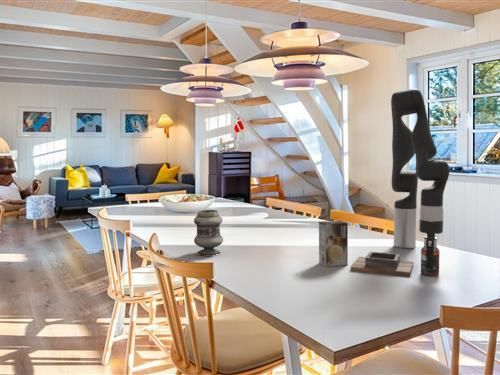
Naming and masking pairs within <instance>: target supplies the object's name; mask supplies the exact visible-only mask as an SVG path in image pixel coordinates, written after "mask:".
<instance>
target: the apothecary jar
mask: <svg viewBox="0 0 500 375" xmlns="http://www.w3.org/2000/svg"><path fill="white" fill-rule="evenodd" d="M193 222H194V224H195V225H196V235H195V237H194V240H193V241H194V244H195V245H196V246H198V247H199V248H202V249H200V250H198V251H197V252H196V254H197V253H198V254H202V255H201V256H203V255H216V254H219V253H220V254H221V251H220V250H218V249H216V247H219V246H221V245H222V244H223V242H224V238H223V236H222V235H221V231H220V230H221V229H220V228H221V226H220V225H221V224H222V223H223V218H222V217H221V215H219V211H218V209H202V210H198V211H197V214H196V216H195V217H194V219H193ZM198 254H197V255H198ZM220 254H219V255H220ZM216 256H217V255H216Z"/></svg>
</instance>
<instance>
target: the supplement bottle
mask: <svg viewBox="0 0 500 375" xmlns="http://www.w3.org/2000/svg"><path fill="white" fill-rule="evenodd" d="M423 245H424V246H423V247H421V249H420V274H422V275H423V276H429V277H436V276H439V274H440V249H439V248H438V247H437V244H436V251H435V252H434V259H433V269H432V270H431V269H426V256H425V255H426V251H425V243H424V242H423ZM428 254H432V252H431V251H428Z"/></svg>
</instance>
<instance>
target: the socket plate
mask: <svg viewBox="0 0 500 375" xmlns="http://www.w3.org/2000/svg"><path fill="white" fill-rule="evenodd" d="M413 268H414V261H410V260H401V254H400V253H391V252H390V253H389V252H380V251H379V252H378V251H377V252H376V251H369V252H368V254H367V255H366V256H365V257H363V256H359V257H358V258H357V259H356V260H355V261H354V262H353V263H352V265H351V266H350V271H351V272H360V273H361V272H362V273H369V274H370V273H371V274H379V275H389V276H400V277H411V275H412V271H413Z"/></svg>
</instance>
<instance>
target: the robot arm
mask: <svg viewBox="0 0 500 375" xmlns="http://www.w3.org/2000/svg"><path fill="white" fill-rule="evenodd" d="M390 100H391V101H390V105H391V106H390V107H391V119H392V121H391V122H392V138H391V139H392V140H391V141H392V142H391V145H392V146H391V149H392V151H391V152H392V169H391V170H392V171H391V189H392V191H393V192H396V193H409V194H408V195H407V196H405V197H404V198H400V199H397V200H395V202H394V206H393V207H394V215H393V218H394V220H393V221H394V222H393V247H394V248H401V249H414V248H416V245H417V244H416V240H417V209H418V208H417V206H418V205H417V199H418V197H417V196H418V184H419V183H418V182H419V180H420V181H422V182H423V181H424V182H433V183H432V185H431V186H429V187H424V188H423V189H422V190H421V191H420V206H419V207H420V208H419V220H418V221H419V223H418V225H419V228H418V229H419V230H418V231H419V232H420V233H423V234H426V236H424V240H423V244H424V243H425V251H426V255H425V256H426V269H431V270H432V269H433V259H434V252H435V251H436V247H437V246H436V244H437V243H438V240H437V239H438V237H436V234H437V235H439V234H442V233H443V232H444V192H445V189H446V186H447V183H448V179H449V176H450V170H451V169H450V166H449V164H448V162H447V161H445V160H443V159H433V158H434V157H435V156H436V155H437V152H438V151H437V147H436V144H435V142H434V138H433V136H432V133H431V130H430V124H429V121H428V120H429V119H428V114H427V109H426V104H425V100H424V96H423V94H422V91H421V90H420V89H419V88H411V89H410V88H409V89H405V90H401V91H395V92H393V94H392V95H391V97H390ZM413 114H414V115H415V114H416V116H417V119H416V121H415V122H416V123H415V124H414V127H413V129H412V130H411V128H410V127H408V125H406V123H405V122H404V121H403V118H402V117H403V116H408V115H413ZM414 156H415V171H408V170H407V171H402V170H403V169H404V167H405V166H406V165H408V163H409V162H410V161H411V160H412V159H413V157H414ZM431 159H433V160H431ZM428 251H431V252H432V254H428Z"/></svg>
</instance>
